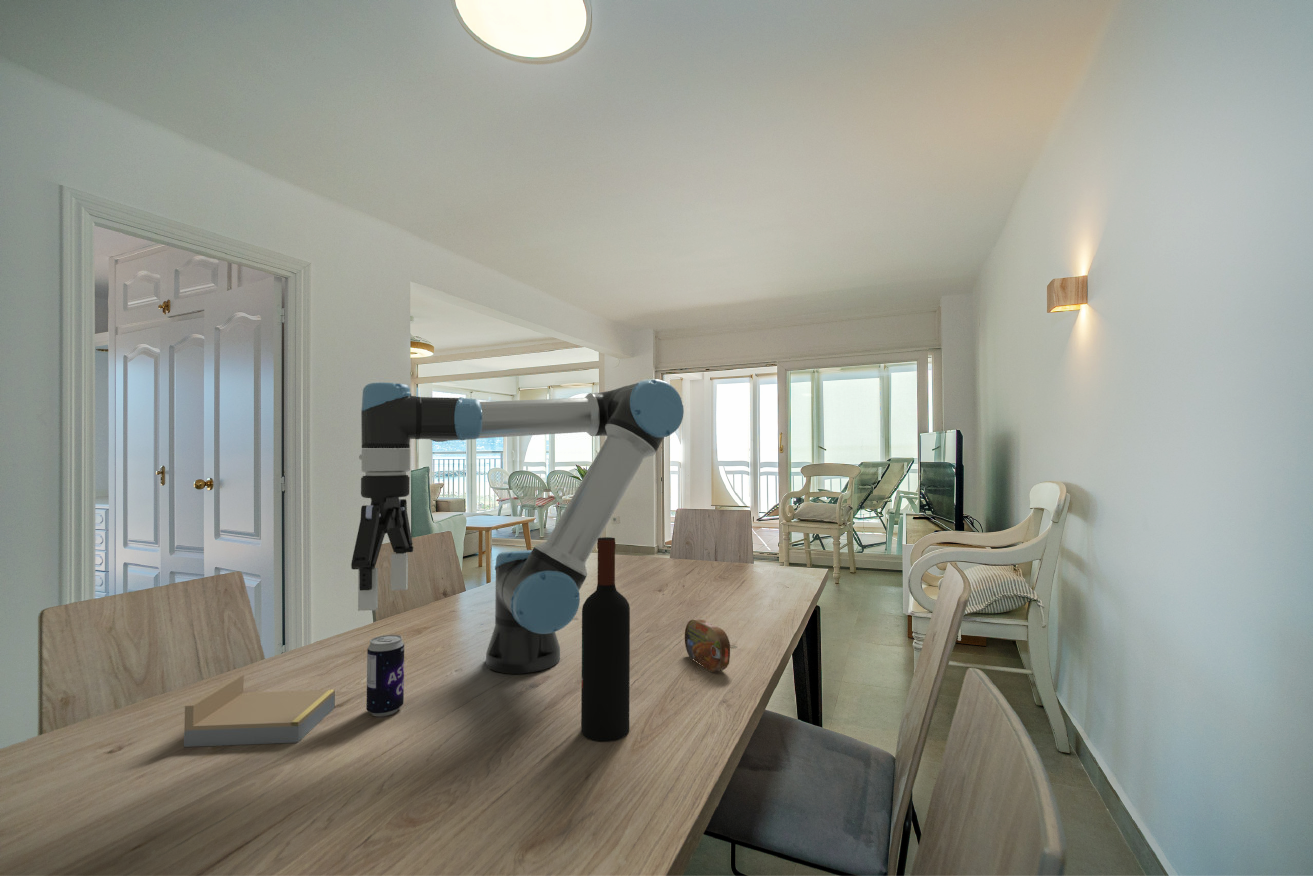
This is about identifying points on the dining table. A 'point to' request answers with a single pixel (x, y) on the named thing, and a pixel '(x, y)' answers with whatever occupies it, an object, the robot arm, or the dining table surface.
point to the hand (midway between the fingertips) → (384, 599)
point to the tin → (707, 645)
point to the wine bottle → (605, 654)
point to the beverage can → (385, 675)
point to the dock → (253, 715)
